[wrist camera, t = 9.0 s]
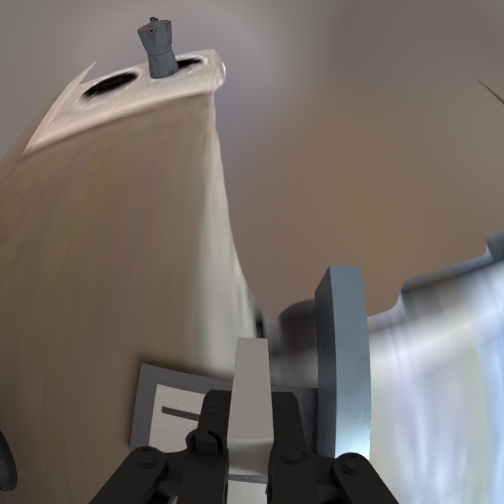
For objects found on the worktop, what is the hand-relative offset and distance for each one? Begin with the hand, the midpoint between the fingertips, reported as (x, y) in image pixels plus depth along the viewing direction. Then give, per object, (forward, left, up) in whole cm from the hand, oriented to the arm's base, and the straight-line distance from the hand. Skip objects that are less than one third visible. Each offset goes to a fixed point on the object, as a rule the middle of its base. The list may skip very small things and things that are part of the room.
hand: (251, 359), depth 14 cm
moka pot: (-36, +73, -17) cm, 83 cm away
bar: (+8, -1, -14) cm, 16 cm away
